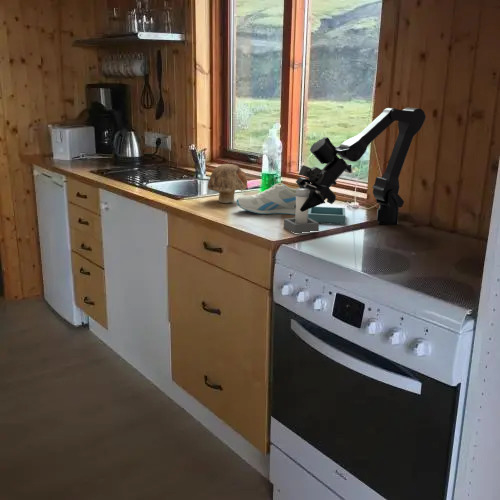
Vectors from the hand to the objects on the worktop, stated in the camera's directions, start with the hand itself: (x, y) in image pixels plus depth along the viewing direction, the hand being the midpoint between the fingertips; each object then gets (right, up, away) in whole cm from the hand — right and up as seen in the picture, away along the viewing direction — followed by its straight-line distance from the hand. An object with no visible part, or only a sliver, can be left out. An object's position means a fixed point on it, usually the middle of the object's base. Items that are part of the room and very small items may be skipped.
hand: (297, 209), depth 188 cm
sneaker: (-7, 0, +26) cm, 27 cm away
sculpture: (-24, +6, +43) cm, 49 cm away
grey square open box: (+1, -7, +2) cm, 7 cm away
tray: (+11, -2, +18) cm, 21 cm away
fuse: (+1, -6, +2) cm, 7 cm away
